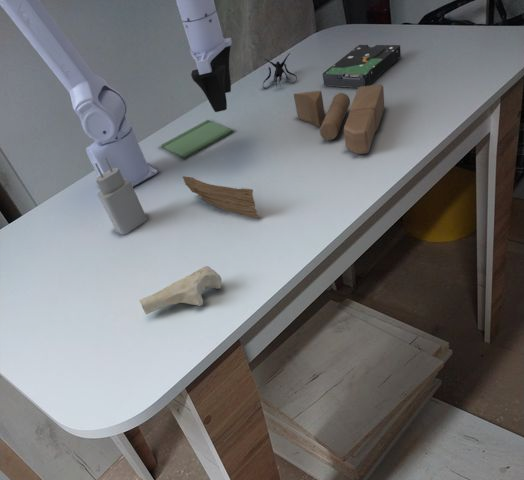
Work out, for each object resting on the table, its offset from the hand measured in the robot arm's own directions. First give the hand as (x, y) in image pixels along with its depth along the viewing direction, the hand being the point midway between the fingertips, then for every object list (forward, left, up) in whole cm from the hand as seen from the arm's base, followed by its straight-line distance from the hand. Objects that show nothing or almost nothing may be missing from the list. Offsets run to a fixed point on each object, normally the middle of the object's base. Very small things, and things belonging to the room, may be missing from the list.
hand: (223, 101), depth 93 cm
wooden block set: (+14, -12, -10) cm, 20 cm away
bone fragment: (-29, -30, -10) cm, 43 cm away
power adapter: (-25, -4, -10) cm, 27 cm away
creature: (+25, +18, -10) cm, 32 cm away
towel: (-1, +13, -10) cm, 17 cm away
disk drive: (+36, +3, -10) cm, 37 cm away
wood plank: (-12, -15, -10) cm, 22 cm away
